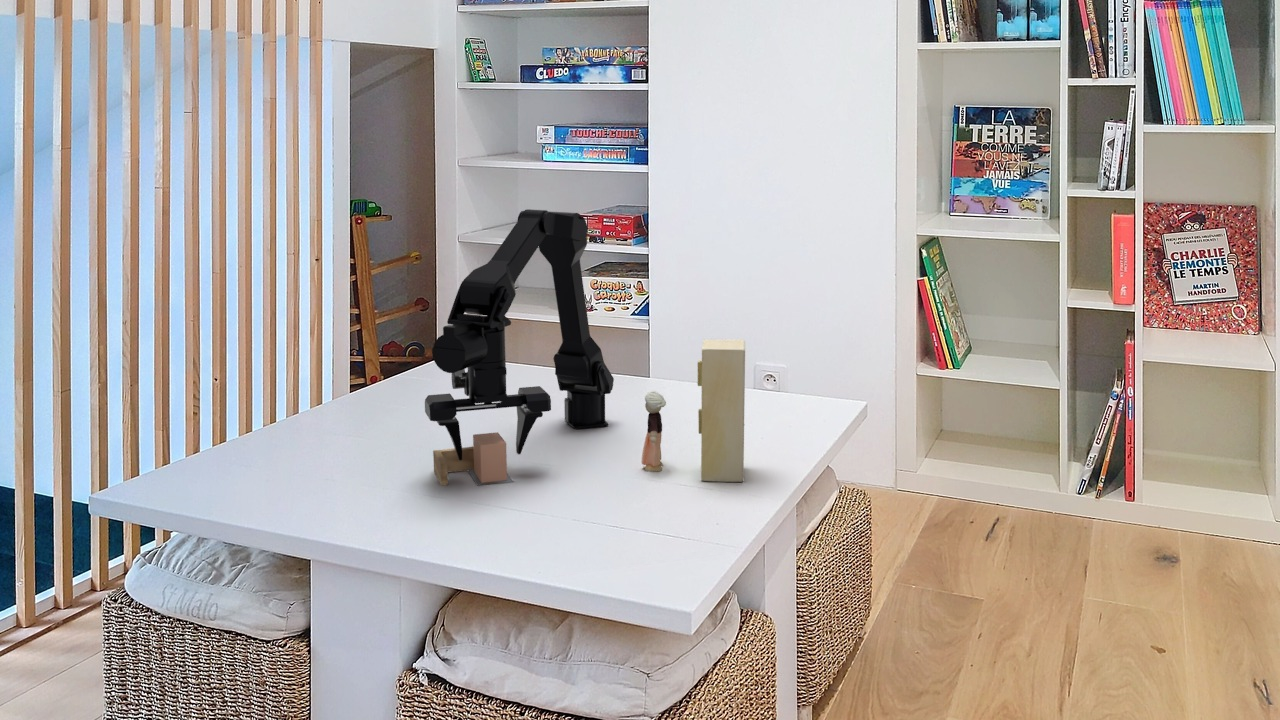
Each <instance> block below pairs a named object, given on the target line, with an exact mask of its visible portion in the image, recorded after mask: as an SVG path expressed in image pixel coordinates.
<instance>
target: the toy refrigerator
mask: <svg viewBox="0 0 1280 720" xmlns="http://www.w3.org/2000/svg"><path fill="white" fill-rule="evenodd" d="M745 380H746V340H745V339H738V338H737V339H733V338H732V339H727V338H725V339H723V338H720V339H719V338H718V339H717V338H714V339H713V338H705V339H703V341H702V347H701V360H698V361H697V386H698V387H701V408H698V410H697V411H698V412H697V413H698V434H701V439H700V441H701V442H700V443H701V444H700V445H701V448H700V449H701V453H700V454H701V458H700V459H701V461H700V463H701V466H700V469H701V470H700V479H701V481H702V482H727V483H729V482H730V483H734V482H735V483H742V482H744V471H745V470H744V465H745V463H744V461H745V460H744V459H745V397H746V395H745V392H746V389H745V388H746V387H745V386H746V381H745Z"/></svg>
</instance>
